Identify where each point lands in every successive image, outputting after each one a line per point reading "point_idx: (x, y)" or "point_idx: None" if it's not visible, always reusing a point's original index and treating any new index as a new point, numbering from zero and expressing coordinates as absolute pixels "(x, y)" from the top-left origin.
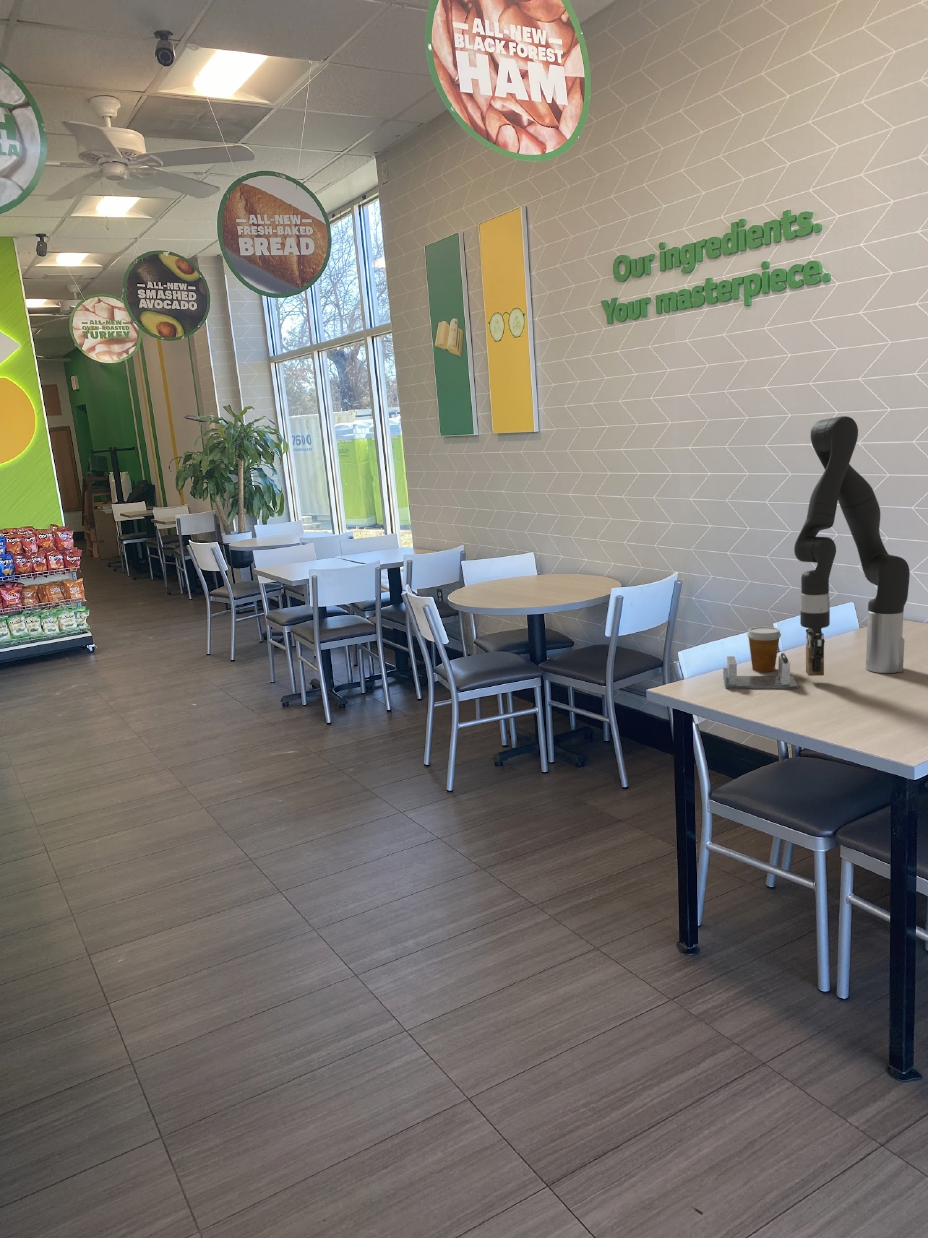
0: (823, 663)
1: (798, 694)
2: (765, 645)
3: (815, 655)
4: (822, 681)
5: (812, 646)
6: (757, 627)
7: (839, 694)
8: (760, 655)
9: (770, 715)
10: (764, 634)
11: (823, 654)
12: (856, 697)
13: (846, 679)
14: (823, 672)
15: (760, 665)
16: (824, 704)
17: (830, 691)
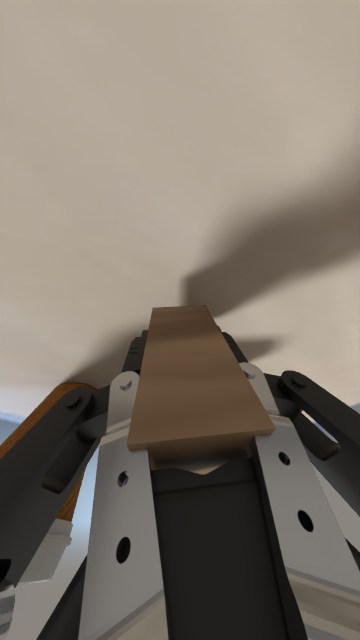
0: (220, 333)
1: (268, 353)
2: (75, 489)
3: (301, 414)
4: (166, 292)
5: (215, 466)
6: None
7: (303, 266)
8: None
9: (352, 389)
10: (51, 569)
11: (241, 370)
12: (355, 214)
13: (131, 196)
14: (207, 311)
15: None
16: (355, 315)
17: (267, 286)
